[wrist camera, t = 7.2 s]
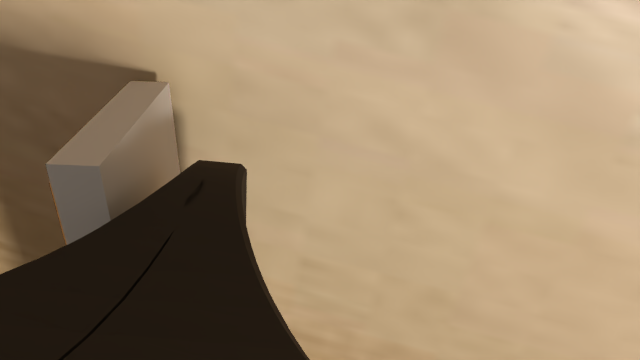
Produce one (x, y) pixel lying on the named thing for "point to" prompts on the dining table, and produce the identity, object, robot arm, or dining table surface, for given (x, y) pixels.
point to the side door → (115, 159)
